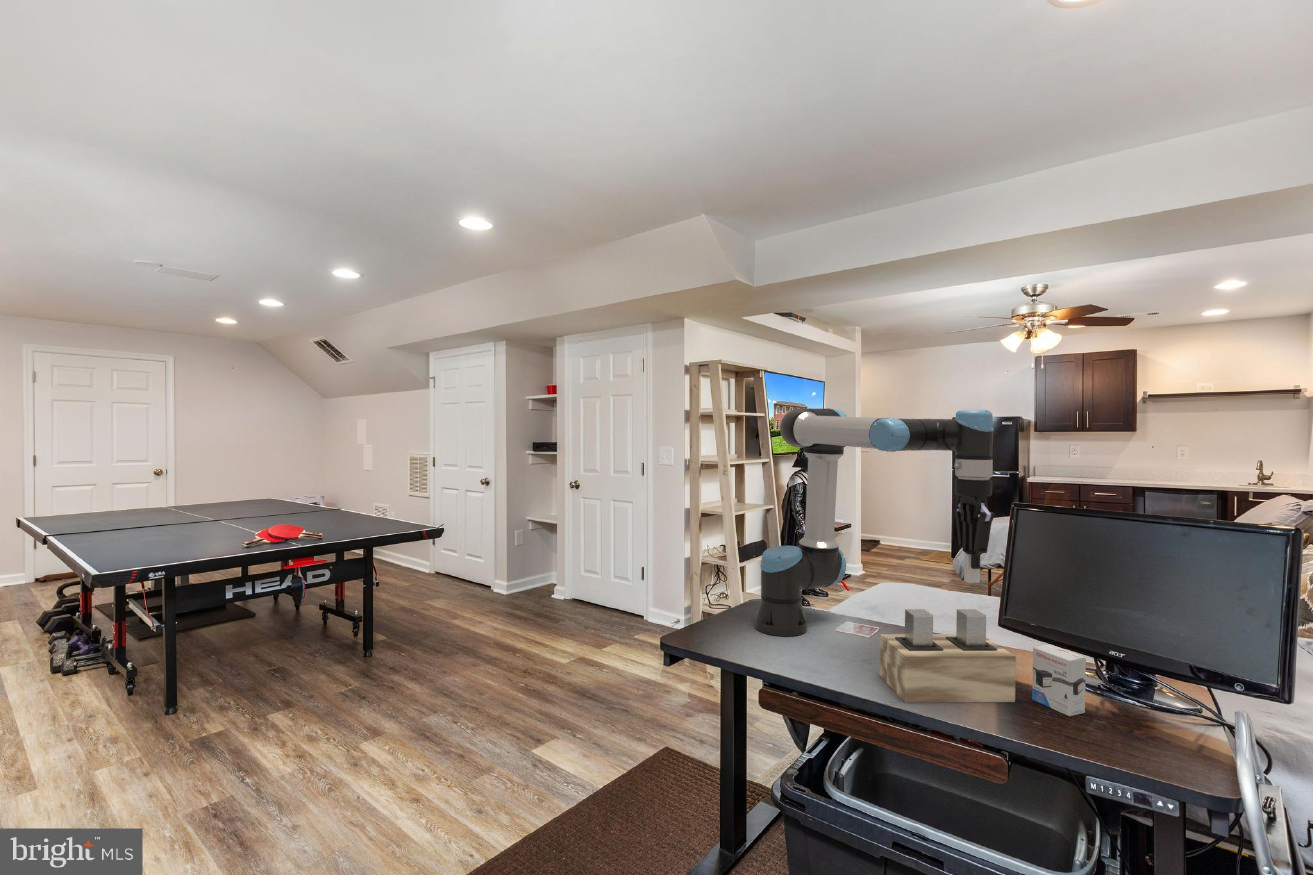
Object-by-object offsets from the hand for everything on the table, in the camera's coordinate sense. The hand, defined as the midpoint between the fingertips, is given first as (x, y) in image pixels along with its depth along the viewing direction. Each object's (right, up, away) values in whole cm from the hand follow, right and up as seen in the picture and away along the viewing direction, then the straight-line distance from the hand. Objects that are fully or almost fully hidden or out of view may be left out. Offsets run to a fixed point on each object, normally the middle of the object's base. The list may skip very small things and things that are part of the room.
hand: (971, 581), depth 137 cm
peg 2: (0, -16, 0) cm, 16 cm away
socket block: (-6, -24, 0) cm, 25 cm away
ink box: (+14, -25, -8) cm, 30 cm away
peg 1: (-12, -16, 0) cm, 20 cm away
